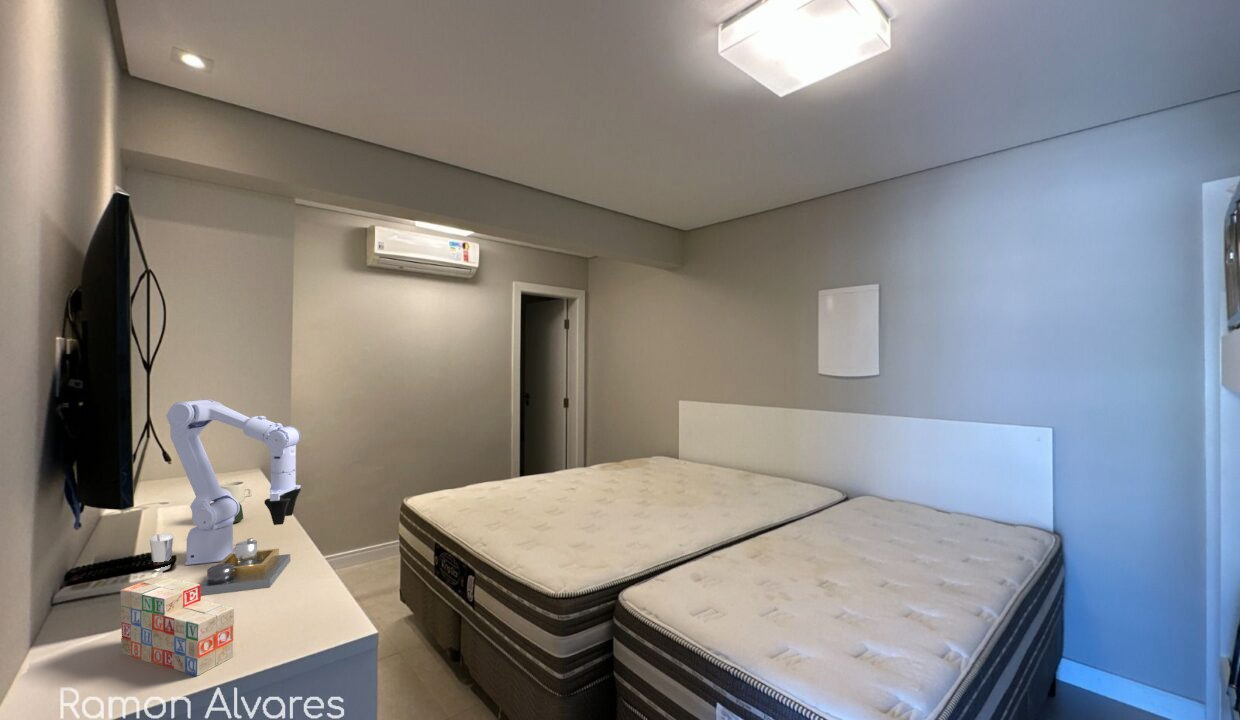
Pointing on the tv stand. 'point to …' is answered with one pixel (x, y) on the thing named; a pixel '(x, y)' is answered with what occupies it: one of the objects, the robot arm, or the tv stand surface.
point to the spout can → (246, 552)
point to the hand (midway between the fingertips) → (283, 519)
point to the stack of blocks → (175, 626)
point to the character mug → (237, 495)
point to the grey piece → (245, 573)
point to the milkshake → (161, 548)
